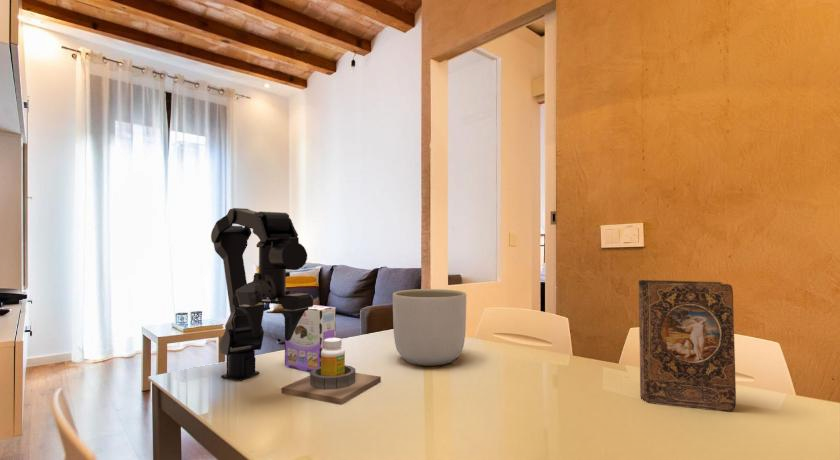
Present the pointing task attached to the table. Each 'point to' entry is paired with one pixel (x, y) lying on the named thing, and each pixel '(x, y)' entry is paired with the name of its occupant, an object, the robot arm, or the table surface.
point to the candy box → (310, 338)
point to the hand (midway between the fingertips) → (271, 338)
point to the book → (687, 344)
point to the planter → (429, 325)
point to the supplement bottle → (332, 358)
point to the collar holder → (332, 386)
